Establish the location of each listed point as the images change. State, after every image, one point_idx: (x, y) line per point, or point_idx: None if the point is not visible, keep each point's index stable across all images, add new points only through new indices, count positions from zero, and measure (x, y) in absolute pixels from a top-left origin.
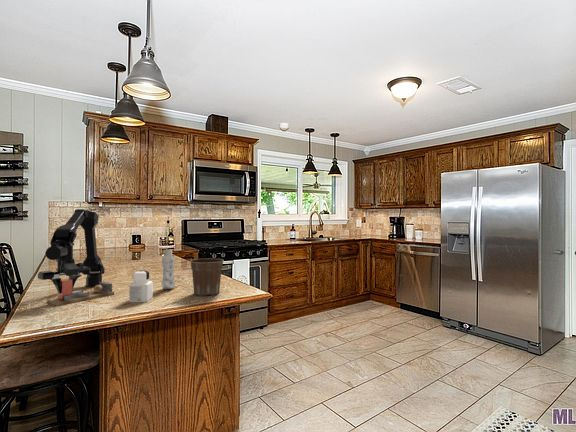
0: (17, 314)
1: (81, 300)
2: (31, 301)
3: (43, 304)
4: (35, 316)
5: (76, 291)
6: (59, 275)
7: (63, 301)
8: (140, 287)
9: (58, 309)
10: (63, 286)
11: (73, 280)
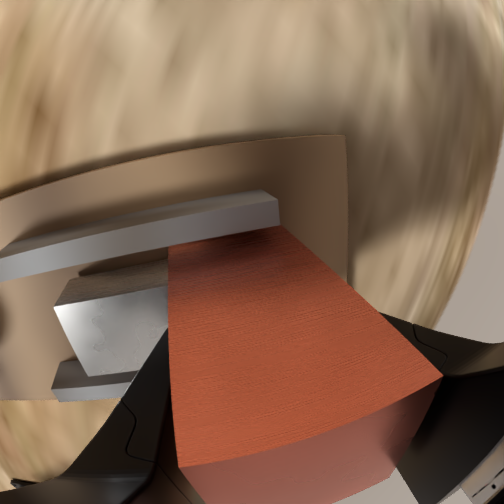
0: (496, 134)
1: (92, 170)
2: None
3: (372, 279)
4: (458, 8)
5: (108, 342)
6: (494, 497)
7: (283, 160)
8: None
9: (351, 16)
10: (349, 309)
11: (142, 459)
